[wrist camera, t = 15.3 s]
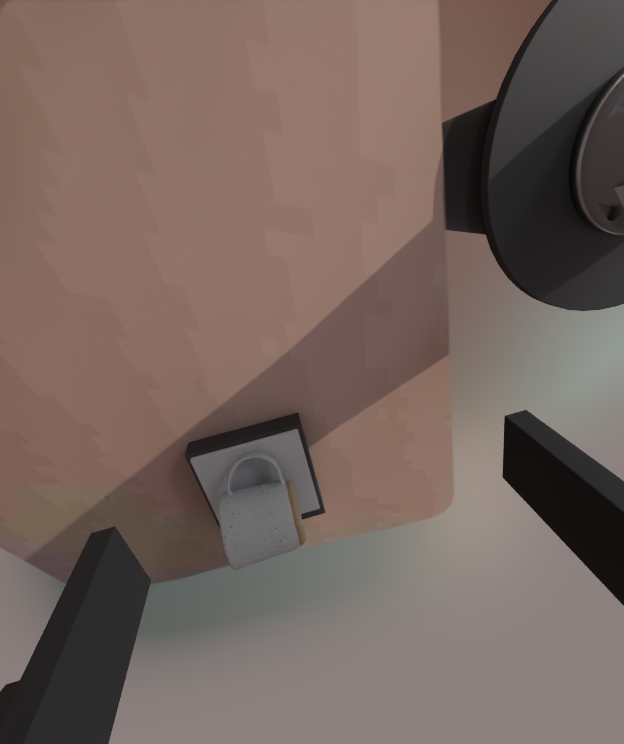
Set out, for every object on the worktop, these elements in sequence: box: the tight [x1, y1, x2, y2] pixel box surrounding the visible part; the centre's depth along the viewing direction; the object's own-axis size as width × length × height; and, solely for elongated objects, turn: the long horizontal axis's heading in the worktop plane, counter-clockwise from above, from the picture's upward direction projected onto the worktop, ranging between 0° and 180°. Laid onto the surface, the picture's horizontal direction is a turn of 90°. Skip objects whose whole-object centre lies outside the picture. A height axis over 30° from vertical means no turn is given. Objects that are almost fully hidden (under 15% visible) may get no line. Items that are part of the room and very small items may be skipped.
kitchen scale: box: [186, 413, 325, 528], centre depth 43 cm, size 13×14×3 cm
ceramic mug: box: [219, 452, 306, 570], centre depth 38 cm, size 11×8×8 cm
